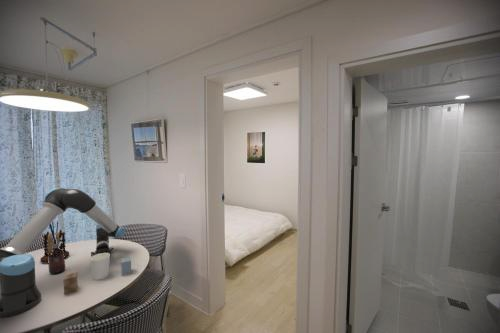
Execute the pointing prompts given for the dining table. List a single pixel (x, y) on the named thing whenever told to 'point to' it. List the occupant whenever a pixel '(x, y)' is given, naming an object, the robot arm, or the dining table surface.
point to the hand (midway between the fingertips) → (102, 261)
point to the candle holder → (100, 265)
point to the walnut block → (70, 283)
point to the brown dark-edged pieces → (50, 244)
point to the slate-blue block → (125, 266)
